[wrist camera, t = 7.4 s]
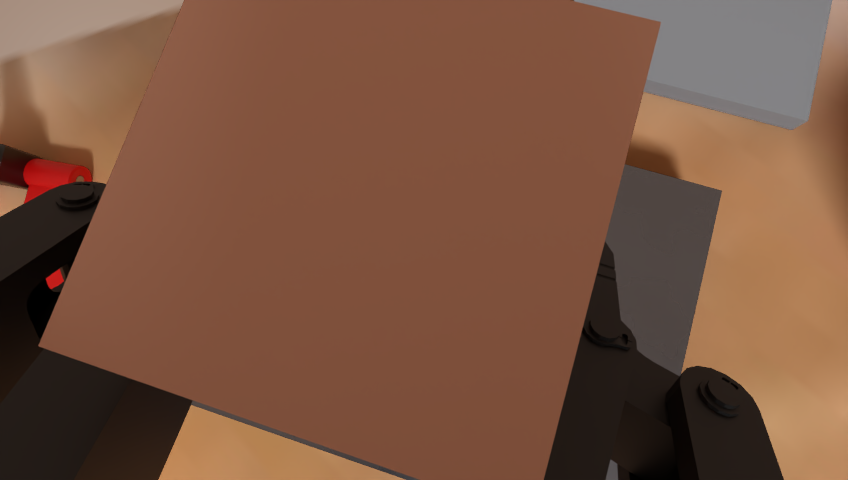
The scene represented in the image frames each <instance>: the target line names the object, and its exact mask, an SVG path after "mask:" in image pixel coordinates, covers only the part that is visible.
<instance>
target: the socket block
mask: <svg viewBox="0 0 848 480" xmlns="http://www.w3.org/2000/svg"><path fill="white" fill-rule="evenodd" d="M721 192H722V191H721V190H717V189H714V188H710V187H706V186H703V185H699V184H695V183H692V182H688V181H684V180H681V179H677V178H673V177H670V176H666V175H662V174H659V173H655V172H651V171H648V170H644V169H640V168H637V167H633V166H629V165H626V164H625V165H624V169H623V173H622V177H621V181H620V185H619V188H618V192H617V196H616V200H615V204H614V208H613V212H612V216H611V220H610V223H609V227H608V231H607V235H606V239H605V242H606V243H607V245H608V246H609V248H610V249H611V251H612V252H613V254H614V262H615V269H614V270H615V271H616V282H617V290H618V299H619V308H620V317H621V321H622V322H623V323H624V324H625V325H626V326H627V327H628V328H629V329H630V330H631V331H632V333H633V335H634V337H635V339H636V342H637V350H638V351H639V352H640V353H642V354H643V355H644V356H645V357H647V358H648V359H650V360H652V361H653V362H655V363H656V364H658V365H660V366H662V367H664V368H665V369H667V370H669V371H671V372H673V373H674V374H676V375H678V376H680V375H681V371H682V367H683V362H684V358H685V354H686V349H687V345H688V340H689V336H690V331H691V327H692V322H693V318H694V313H695V309H696V304H697V300H698V295H699V291H700V286H701V282H702V277H703V273H704V268H705V264H706V260H707V255H708V251H709V246H710V242H711V237H712V233H713V228H714V224H715V219H716V215H717V210H718V206H719V201H720V197H721ZM191 405H193V406H196V407H199V408H202V409H205V410H208V411H211V412H214V413H216V414H219V415H222V416H225V417H228V418H231V419H234V420H237V421H239V422H242V423H245V424H248V425H251V426H254V427H257V428H260V429H262V430H265V431H268V432H271V433H274V434H277V435H280V436H283V437H285V438H288V439H291V440H294V441H297V442H300V443H303V444H306V445H308V446H311V447H314V448H317V449H320V450H323V451H326V452H329V453H331V454H334V455H337V456H340V457H343V458H346V459H349V460H351V461H354V462H357V463H360V464H363V465H366V466H369V467H372V468H374V469H377V470H380V471H383V472H386V473H389V474H392V475H395V476H397V477H400V478H403V479H406V480H419V479H416V478H413V477H410V476H408V475H405V474H402V473H399V472H396V471H393V470H390V469H388V468H385V467H382V466H379V465H376V464H373V463H370V462H368V461H365V460H362V459H359V458H356V457H353V456H350V455H348V454H345V453H342V452H339V451H336V450H333V449H330V448H328V447H325V446H322V445H319V444H316V443H313V442H310V441H308V440H305V439H302V438H299V437H296V436H293V435H290V434H288V433H285V432H282V431H279V430H276V429H273V428H270V427H268V426H265V425H262V424H259V423H256V422H253V421H250V420H248V419H245V418H242V417H239V416H236V415H233V414H230V413H228V412H225V411H222V410H219V409H216V408H213V407H210V406H208V405H205V404H202V403H199V402H196V401H192V403H191ZM606 480H618V470H617V463H615V462H614V461H612V460H610V464H609V468H608V472H607V476H606Z"/></svg>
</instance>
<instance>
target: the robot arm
mask: <svg viewBox="0 0 848 480" xmlns="http://www.w3.org/2000/svg"><path fill="white" fill-rule="evenodd" d="M105 187H106V184H103V183H97V182H88V181H84V182H82V181H80V182H73V183H69V184H64V185H60V186H58V187H55V188H53V189H50V190H48V191H46V192H44V193H43V194H41V195H39V196H37V197H35V198H34V199H32V200H30V201H28V202H26V203H25V204H23V205H21V206H19V207H17V208H16V209H14V210H12V211H10V212H8V213H7V214H5V215H3V216H1V217H0V480H158V479H159V477H160V474H161V472H162V470H163V468H164V465H165V463H166V461H167V458H168V456H169V454H170V452H171V449H172V447H173V445H174V442H175V440H176V438H177V436H178V433H179V431H180V429H181V426H182V424H183V422H184V419H185V417H186V415H187V413H188V410H189V408H190V406H191V403H192V401H193V400H190V399H188V398H185V397H182V396H179V395H176V394H173V393H170V392H168V391H165V390H162V389H159V388H156V387H153V386H150V385H148V384H145V383H142V382H139V381H136V380H133V379H130V378H127V377H125V376H122V375H119V374H116V373H113V372H110V371H107V370H105V369H102V368H99V367H96V366H93V365H90V364H87V363H85V362H82V361H79V360H76V359H73V358H70V357H67V356H65V355H62V354H59V353H56V352H53V351H50V350H47V349H45V348H42V347H39V346H38V345H39V343H40V341H41V338H42V336H43V333H44V331H45V329H46V326H47V324H48V322H49V319H50V317H51V315H52V312H53V310H54V307H55V305H56V303H57V300H58V298H59V296H60V293H61V291H62V289H63V286H64V284H65V281H66V279H67V277H68V274H69V272H70V270H71V267H72V265H73V262H74V260H75V258H76V255H77V253H78V251H79V248H80V246H81V244H82V241H83V239H84V236H85V234H86V232H87V229H88V227H89V225H90V222H91V220H92V218H93V215H94V213H95V210H96V208H97V206H98V203H99V201H100V199H101V196H102V194H103V191H104V189H105ZM58 269H60V272H61V274H62V277H63V280H64V282H62V283H61V284H60V285H58V286H56V287H54V288H52V289H50V288H49V286H48V284H47V281H46V278H47V277H49V276H50V275H51V274H53V273H54V272H56V271H57V270H58ZM614 269H615V262H614V254H613V252H612V251H611V249H610V248H609V246H608V245H607V243H606V242H605V243H604V247H603V251H602V255H601V258H600V262H599V266H598V270H597V274H596V278H595V282H594V286H593V290H592V293H591V297H590V301H589V305H588V309H587V313H586V317H585V321H584V325H583V328H582V332H581V336H580V340H579V344H578V348H577V352H576V356H575V360H574V363H573V367H572V371H571V375H570V379H569V383H568V387H567V391H566V395H565V399H564V402H563V406H562V410H561V414H560V418H559V422H558V426H557V430H556V434H555V437H554V441H553V445H552V449H551V453H550V457H549V461H548V465H547V469H546V472H545V476H544V480H606V476H607V472H608V468H609V464H610V460H612V461H614V462H615V463H617V470H618V480H784V479H783V476H782V473H781V470H780V467H779V464H778V462H777V459H776V456H775V453H774V450H773V447H772V444H771V442H770V439H769V436H768V433H767V430H766V427H765V424H764V421H763V419H762V416H761V413H760V410H759V408H758V407H757V405H756V403H755V401H754V399H753V398H752V397H751V395H750V394H749V393H748V392H747V391H746V390H745V389H744V388H743V387H742V386H741V385H740V384H738V383H737V382H736V381H734V380H733V379H731V378H730V377H729V376H727V375H725V374H723V373H721V372H719V371H716V370H714V369H712V368H707V367H701V366H695V367H690V368H687V369H686V370H685V371H684V372H683V373H682V374H681V375H680V376H678V375H676V374H674V373H673V372H671V371H669V370H667V369H665V368H664V367H662V366H660V365H658V364H656V363H655V362H653V361H652V360H650V359H648V358H647V357H645V356H644V355H643V354H642V353H640V352H639V351H638V350H637V342H636V339H635V337H634V335H633V333H632V331H631V330H630V329H629V328H628V327H627V326H626V325H625V324H624V323H623V322H622V321H621V317H620V308H619V299H618V290H617V282H616V271H615V270H614Z"/></svg>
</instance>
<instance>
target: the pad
mask: <svg viewBox="0 0 848 480" xmlns="http://www.w3.org/2000/svg"><path fill="white" fill-rule="evenodd" d="M573 1H575V2H579V3H584V4H588V5H592V6H596V7H600V8H605V9H609V10H613V11H617V12H621V13H625V14H630V15H634V16H638V17H642V18H646V19H650V20H655V21H659V22H661V25H660V29H659V33H658V37H657V41H656V44H655V48H654V52H653V56H652V60H651V64H650V68H649V72H648V76H647V79H646V83H645V87H644V91H643V92H647V93H651V94H655V95H659V96H663V97H667V98H670V99H674V100H678V101H682V102H686V103H690V104H694V105H697V106H701V107H705V108H709V109H713V110H717V111H721V112H725V113H728V114H732V115H736V116H740V117H744V118H748V119H752V120H756V121H759V122H763V123H767V124H771V125H775V126H779V127H783V128H786V129H790V130H793V129H794V128H796V127H798V126H800V125H802V124H803V123H805V122H807V121H808V119H809V114H810V109H811V104H812V99H813V94H814V89H815V84H816V79H817V74H818V69H819V64H820V59H821V54H822V49H823V44H824V39H825V34H826V29H827V24H828V19H829V14H830V9H831V4H832V0H573Z"/></svg>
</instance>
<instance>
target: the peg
mask: <svg viewBox="0 0 848 480" xmlns="http://www.w3.org/2000/svg"><path fill="white" fill-rule="evenodd" d="M660 25H661V22H659V21H655V20H650V19H646V18H642V17H638V16H634V15H630V14H625V13H621V12H617V11H613V10H609V9H605V8H600V7H596V6H592V5H588V4H584V3H579V2H575V1H571V0H184V2H183V5H182V7H181V9H180V12H179V14H178V16H177V19H176V21H175V23H174V26H173V28H172V31H171V33H170V35H169V38H168V40H167V42H166V45H165V47H164V49H163V52H162V54H161V57H160V59H159V61H158V64H157V66H156V68H155V71H154V73H153V76H152V78H151V80H150V83H149V85H148V87H147V90H146V92H145V94H144V97H143V99H142V102H141V104H140V106H139V109H138V111H137V113H136V116H135V118H134V120H133V123H132V125H131V128H130V130H129V132H128V135H127V137H126V139H125V142H124V144H123V147H122V149H121V151H120V154H119V156H118V158H117V161H116V163H115V165H114V168H113V170H112V173H111V175H110V177H109V180H108V182H107V184H106V187H105V189H104V191H103V194H102V196H101V199H100V201H99V203H98V206H97V208H96V210H95V213H94V215H93V218H92V220H91V222H90V225H89V227H88V229H87V232H86V234H85V236H84V239H83V241H82V244H81V246H80V248H79V251H78V253H77V255H76V258H75V260H74V262H73V265H72V267H71V270H70V272H69V274H68V277H67V279H66V281H65V284H64V286H63V289H62V291H61V293H60V296H59V298H58V300H57V303H56V305H55V307H54V310H53V312H52V315H51V317H50V319H49V322H48V324H47V326H46V329H45V331H44V333H43V336H42V338H41V341H40V343H39V345H38V346H39V347H42V348H45V349H47V350H50V351H53V352H56V353H59V354H62V355H65V356H67V357H70V358H73V359H76V360H79V361H82V362H85V363H87V364H90V365H93V366H96V367H99V368H102V369H105V370H107V371H110V372H113V373H116V374H119V375H122V376H125V377H127V378H130V379H133V380H136V381H139V382H142V383H145V384H148V385H150V386H153V387H156V388H159V389H162V390H165V391H168V392H170V393H173V394H176V395H179V396H182V397H185V398H188V399H190V400H193V401H196V402H199V403H202V404H205V405H208V406H210V407H213V408H216V409H219V410H222V411H225V412H228V413H230V414H233V415H236V416H239V417H242V418H245V419H248V420H250V421H253V422H256V423H259V424H262V425H265V426H268V427H270V428H273V429H276V430H279V431H282V432H285V433H288V434H290V435H293V436H296V437H299V438H302V439H305V440H308V441H310V442H313V443H316V444H319V445H322V446H325V447H328V448H330V449H333V450H336V451H339V452H342V453H345V454H348V455H350V456H353V457H356V458H359V459H362V460H365V461H368V462H370V463H373V464H376V465H379V466H382V467H385V468H388V469H390V470H393V471H396V472H399V473H402V474H405V475H408V476H410V477H413V478H416V479H419V480H544V476H545V472H546V469H547V465H548V461H549V457H550V453H551V449H552V445H553V441H554V437H555V434H556V430H557V426H558V422H559V418H560V414H561V410H562V406H563V402H564V399H565V395H566V391H567V387H568V383H569V379H570V375H571V371H572V367H573V363H574V360H575V356H576V352H577V348H578V344H579V340H580V336H581V332H582V328H583V325H584V321H585V317H586V313H587V309H588V305H589V301H590V297H591V293H592V290H593V286H594V282H595V278H596V274H597V270H598V266H599V262H600V258H601V255H602V251H603V247H604V243H605V239H606V235H607V231H608V227H609V223H610V220H611V216H612V212H613V208H614V204H615V200H616V196H617V192H618V188H619V185H620V181H621V177H622V173H623V169H624V165H625V161H626V157H627V153H628V149H629V146H630V142H631V138H632V134H633V130H634V126H635V122H636V118H637V114H638V111H639V107H640V103H641V99H642V95H643V91H644V87H645V83H646V79H647V76H648V72H649V68H650V64H651V60H652V56H653V52H654V48H655V44H656V41H657V37H658V33H659V29H660Z"/></svg>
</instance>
